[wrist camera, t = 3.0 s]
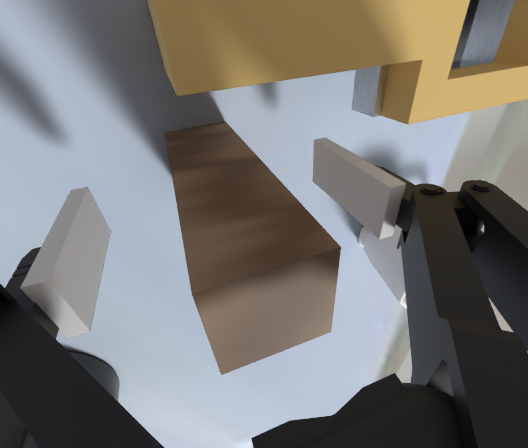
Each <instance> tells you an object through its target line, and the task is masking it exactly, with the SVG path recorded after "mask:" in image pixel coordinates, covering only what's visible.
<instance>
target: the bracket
mask: <svg viewBox="0 0 528 448" xmlns="http://www.w3.org/2000/svg"><path fill="white" fill-rule="evenodd" d="M147 2H148V6H149V10H150V14H151V18H152V21H153V25H154V29H155V33H156V37H157V41H158V45H159V48H160V52H161V56H162V60H163V64H164V68H165V72H166V74H167V76H168V78H169V80H170V82H171V84H172V86H173V88H174V91H175V93H176V95H177V96H182V95H188V94H195V93H202V92H208V91H215V90H222V89H229V88H235V87H242V86H249V85H255V84H262V83H269V82H275V81H282V80H289V79H295V78H302V77H309V76H316V75H322V74H329V73H336V72H342V71H349V70H356V69H362V68H369V67H376V66H383V65H389V70H388V76H387V82H386V88H385V94H384V100H383V105H382V111H381V116H384V117H387V118H390V119H393V120H396V121H399V122H402V123H405V124H412V123H417V122H422V121H426V120H431V119H436V118H441V117H445V116H450V115H455V114H459V113H464V112H469V111H473V110H478V109H483V108H487V107H492V106H497V105H502V104H506V103H511V102H516V101H520V100H525V99H528V0H515V3H514V6H513V8H512V11H511V14H510V17H509V19H508V22H507V25H506V28H505V30H504V33H503V36H502V39H501V41H500V44H499V47H498V50H497V52H496V55H495V58H494V61H493V62H492V63H486V64H480V65H474V66H468V67H462V68H456V69H451V65H452V62H453V58H454V55H455V51H456V48H457V44H458V41H459V37H460V34H461V30H462V27H463V23H464V20H465V16H466V13H467V9H468V6H469V2H470V0H147Z"/></svg>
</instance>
